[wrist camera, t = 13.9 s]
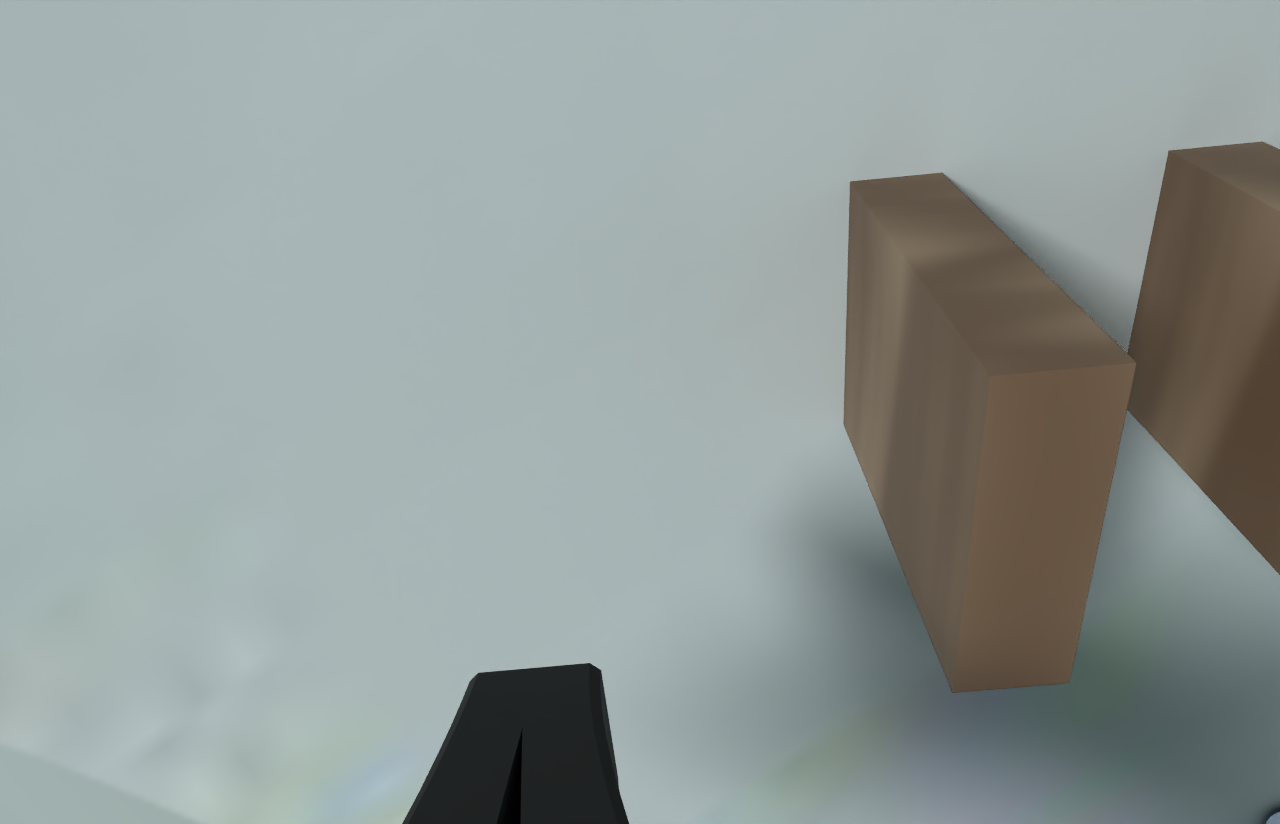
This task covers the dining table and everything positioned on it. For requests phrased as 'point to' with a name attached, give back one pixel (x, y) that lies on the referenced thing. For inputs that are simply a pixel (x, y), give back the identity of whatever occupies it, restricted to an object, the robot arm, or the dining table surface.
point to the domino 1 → (979, 428)
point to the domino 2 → (1216, 331)
